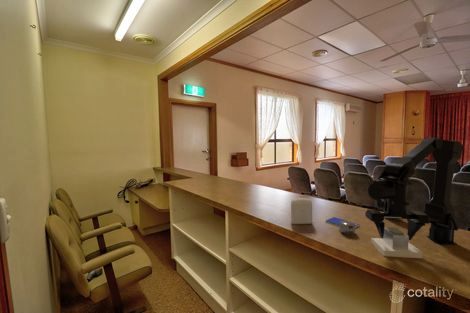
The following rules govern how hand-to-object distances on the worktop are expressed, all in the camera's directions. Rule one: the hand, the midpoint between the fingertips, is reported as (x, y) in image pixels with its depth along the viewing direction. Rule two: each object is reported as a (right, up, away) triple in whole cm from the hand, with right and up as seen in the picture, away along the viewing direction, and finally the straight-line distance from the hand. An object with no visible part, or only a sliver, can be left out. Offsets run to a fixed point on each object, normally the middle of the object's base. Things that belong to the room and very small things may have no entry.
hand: (395, 238), depth 81 cm
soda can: (+21, -2, +31) cm, 38 cm away
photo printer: (-26, -3, +28) cm, 38 cm away
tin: (-10, -3, +16) cm, 19 cm away
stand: (0, -4, 0) cm, 4 cm away
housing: (0, -2, 0) cm, 2 cm away
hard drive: (-7, -3, +26) cm, 27 cm away
